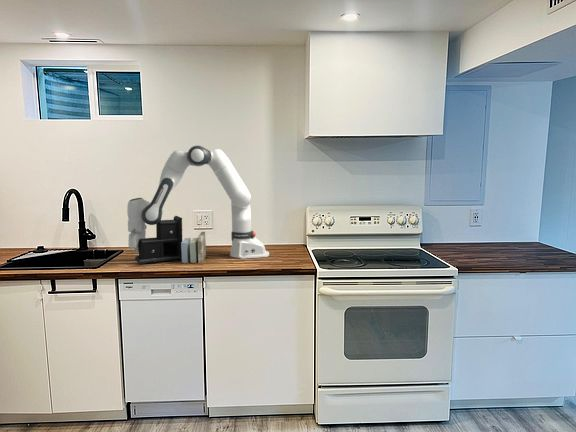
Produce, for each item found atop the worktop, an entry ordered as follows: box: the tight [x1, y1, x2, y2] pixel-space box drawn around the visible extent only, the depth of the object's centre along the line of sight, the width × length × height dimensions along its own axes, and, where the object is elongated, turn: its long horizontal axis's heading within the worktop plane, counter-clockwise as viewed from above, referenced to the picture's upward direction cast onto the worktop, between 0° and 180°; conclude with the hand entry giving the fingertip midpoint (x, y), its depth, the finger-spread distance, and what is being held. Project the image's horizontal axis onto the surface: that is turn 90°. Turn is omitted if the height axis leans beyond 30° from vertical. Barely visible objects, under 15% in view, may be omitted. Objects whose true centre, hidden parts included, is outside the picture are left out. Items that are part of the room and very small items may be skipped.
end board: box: [197, 231, 207, 264], centre depth 226 cm, size 2×18×14 cm, turn 5°
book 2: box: [189, 237, 198, 264], centre depth 226 cm, size 3×14×11 cm, turn 5°
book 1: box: [181, 237, 192, 264], centre depth 225 cm, size 3×14×11 cm, turn 5°
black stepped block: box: [134, 215, 183, 265], centre depth 223 cm, size 23×11×24 cm, turn 121°
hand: (137, 252), depth 223 cm, fingers closed
